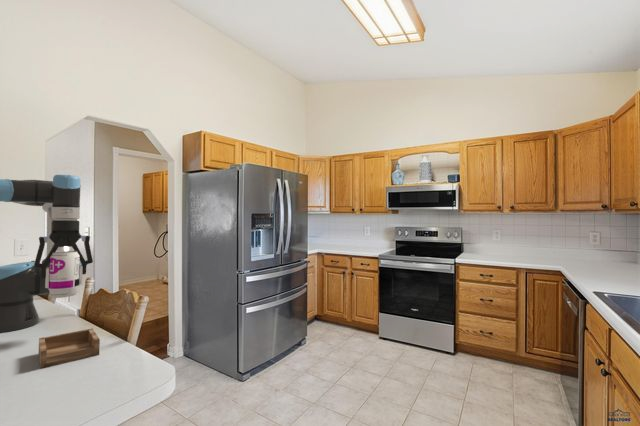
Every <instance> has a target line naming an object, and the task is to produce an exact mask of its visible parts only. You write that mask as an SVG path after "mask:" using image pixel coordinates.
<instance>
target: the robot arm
mask: <svg viewBox="0 0 640 426" xmlns="http://www.w3.org/2000/svg"><path fill="white" fill-rule="evenodd" d="M81 187H82V185H81V178H80V176H77V175H71V174H55V175H53V176H52V180H44V179H43V180H42V179H41V180H40V179H39V180H38V179H20V180H19V179H8V178H6V179H3V178H1V179H0V202H4V203H10V202H11V203H14V204H19V205H24V206H29V207H30V206H33V207H42V210H43V211H44V212H45V213H46V236H39V237H38V240H39V245H38V249H37V253H36V257H35V260H34V261H25V262H16V263H11V264H5V265H1V266H0V333H7V332H12V331H18V330H22V329H26V328H29V327H33V326H34V325H35V326H36V325H37V324H39V321H40V317H39V313H38V311H37V309H36V307H35V304H34V296H42V295H43V296H44V295H48V288H49V262H50V257H51V256H52V254H53V253H55V252H57V251H75V252H77V253H78V254H79V256H80V264H79V286H81V285H83V275H86V274H87V266H88V265H89V264H92V263H93V262H94V261H93V257H92V256H93V255H92V251H91V246H90V239H91V237H90V235H82V234H81V233H80V220H79V219H80V213H81V212H80V211H81V210H80V209H81V207H80V205H81ZM80 239H81V241H82V242H83V244H84V249H85V255H86V260H85V258H84V256H83V254H82V252H81V251H80V248H79V246H78V245H77V242H79V240H80ZM45 245H46V257H45V258H44V259H42V256H43V253H44V249H45ZM41 260H42V261H41Z"/></svg>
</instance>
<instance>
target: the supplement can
mask: <svg viewBox="0 0 640 426" xmlns="http://www.w3.org/2000/svg"><path fill="white" fill-rule="evenodd" d="M79 264H80V256H79V254H78V253H77V252H75V251H74V250H73V251H57V252H55V253H53V254H52V256H51V257H50V262H49V288H48V294H47V296H48V297H49V298H51V299H52V298H53V299H60V298H69V297H73V296H76V295H77V294H78V293H79V292H80V285H79Z"/></svg>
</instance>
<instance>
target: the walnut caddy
mask: <svg viewBox="0 0 640 426" xmlns="http://www.w3.org/2000/svg"><path fill="white" fill-rule="evenodd" d="M97 334H98V333H96V331H95V330H94V328H87V329H82V330H75V331H72V332H67V333H66V332H65V333H61V334H56V335H50V336H45V337H40V338H38V359H39V368H40V369H44V368H49V367H53V366H58V365H61V364H66V363H70V362H73V361H78V360H83V359H86V358H91V357H95V356H100V347H101V346H100V345H101V344H100V343H101V341H100V337H99V336H98V335H97Z"/></svg>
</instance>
